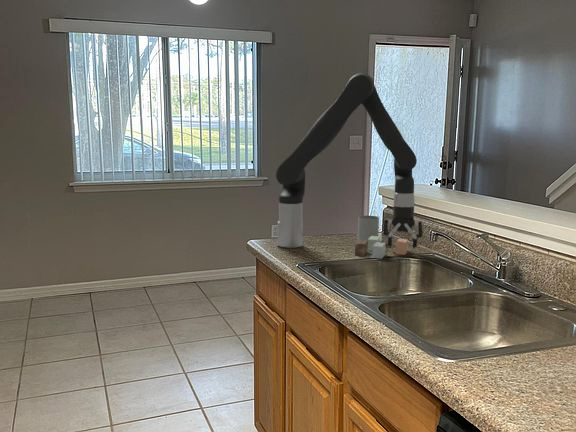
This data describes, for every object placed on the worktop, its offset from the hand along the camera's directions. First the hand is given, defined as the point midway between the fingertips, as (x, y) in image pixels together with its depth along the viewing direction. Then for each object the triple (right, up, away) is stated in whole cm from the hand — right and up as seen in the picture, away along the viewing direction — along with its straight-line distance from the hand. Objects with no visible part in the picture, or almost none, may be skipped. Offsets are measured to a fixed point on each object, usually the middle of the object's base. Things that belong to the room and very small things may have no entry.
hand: (402, 247), depth 210 cm
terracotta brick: (0, -2, +1) cm, 2 cm away
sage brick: (-10, -1, +6) cm, 12 cm away
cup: (-10, +1, +21) cm, 23 cm away
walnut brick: (-16, -2, -1) cm, 16 cm away
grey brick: (-10, -3, -6) cm, 12 cm away
